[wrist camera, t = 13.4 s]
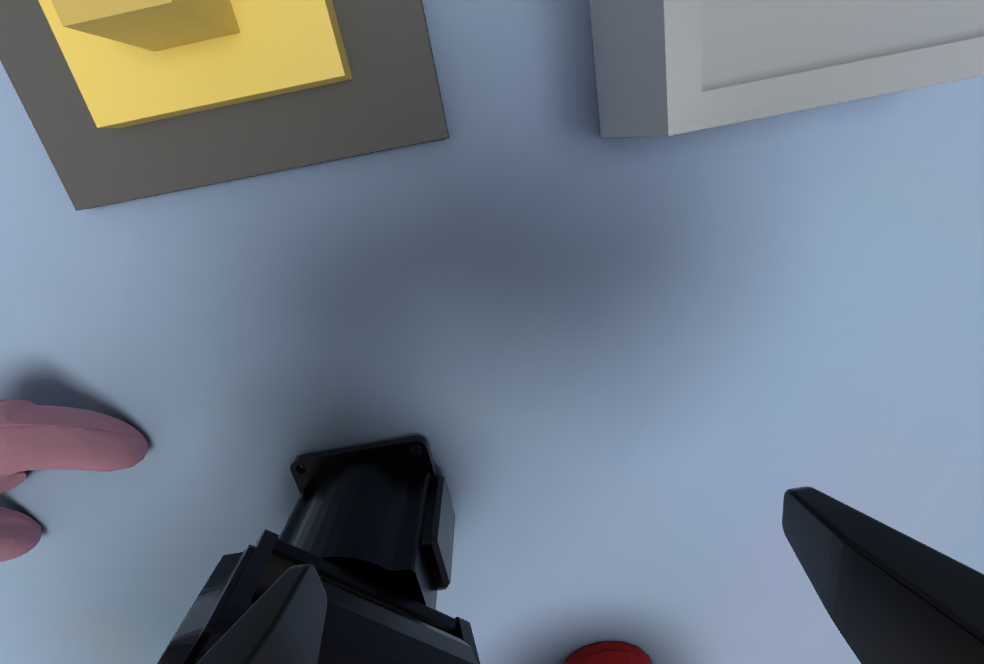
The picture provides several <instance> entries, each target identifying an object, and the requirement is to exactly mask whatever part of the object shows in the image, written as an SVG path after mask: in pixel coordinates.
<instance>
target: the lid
mask: <svg viewBox="0 0 984 664" xmlns="http://www.w3.org/2000/svg"><path fill="white" fill-rule="evenodd" d="M38 1H39V3H40V5H41V7H42V9H43V11H44V14H45V16H46V18H47V20H48V22H49V24H50V27H51V29H52V31H53V33H54V35H55V37H56V40H57V42H58V44H59V46H60V48H61V50H62V53H63V55H64V57H65V59H66V61H67V63H68V66H69V68H70V70H71V72H72V74H73V76H74V78H75V81H76V83H77V85H78V87H79V89H80V91H81V94H82V96H83V98H84V100H85V102H86V104H87V107H88V109H89V111H90V113H91V115H92V117H93V120H94V122H95V124H96V126H97V128H118V129H119V128H124V127H129V126H133V125H138V124H143V123H147V122H152V121H157V120H162V119H166V118H171V117H176V116H181V115H185V114H190V113H195V112H199V111H204V110H209V109H214V108H218V107H223V106H228V105H233V104H237V103H242V102H247V101H252V100H256V99H261V98H266V97H270V96H275V95H280V94H285V93H289V92H294V91H299V90H304V89H308V88H313V87H318V86H322V85H327V84H332V83H337V82H341V81H346V80H351V79H353V78H352V74H351V70H350V66H349V63H348V59H347V55H346V51H345V47H344V44H343V40H342V36H341V32H340V29H339V25H338V21H337V17H336V13H335V10H334V6H333V2H332V0H38Z"/></svg>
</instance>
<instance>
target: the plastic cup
mask: <svg viewBox="0 0 984 664" xmlns="http://www.w3.org/2000/svg"><path fill="white" fill-rule="evenodd" d="M565 664H652V662H651V660H650V658H649V656H648V655H647V654H645V653H644V652H643V651H642V650H640V649H639V648H638V647H635V646H632V645H629V644H625V643H622V642H602V643H598V644H594V645H591V646H587V647H584V648H583V649H581V650H579V651H578V652H576V653H574V654H573V655H571V656H570V657H569V658H568V660H567V661H566V662H565Z"/></svg>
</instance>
